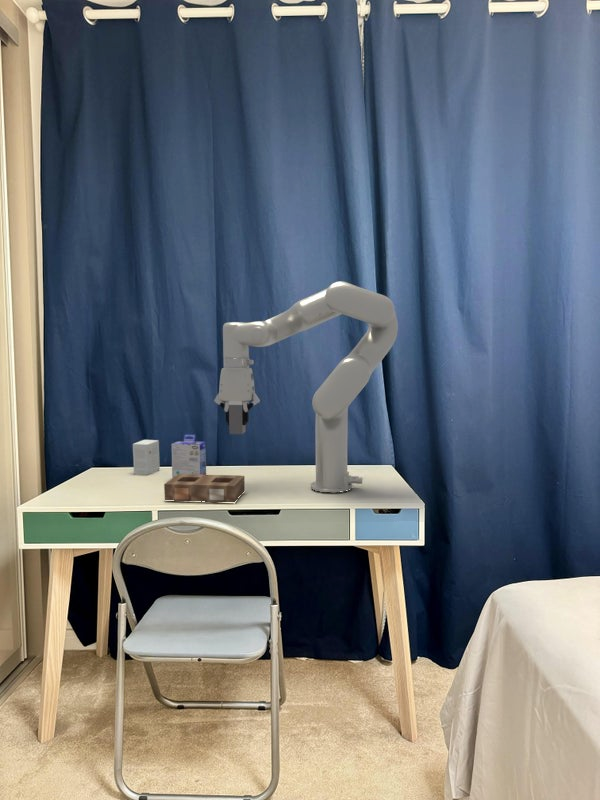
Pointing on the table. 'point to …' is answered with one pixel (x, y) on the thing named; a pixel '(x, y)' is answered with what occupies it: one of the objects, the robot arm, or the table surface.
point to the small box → (146, 457)
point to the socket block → (204, 488)
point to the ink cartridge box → (188, 457)
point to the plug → (236, 418)
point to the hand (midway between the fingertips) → (237, 423)
